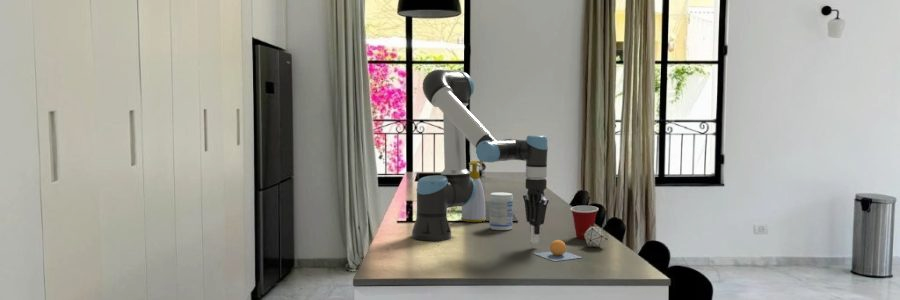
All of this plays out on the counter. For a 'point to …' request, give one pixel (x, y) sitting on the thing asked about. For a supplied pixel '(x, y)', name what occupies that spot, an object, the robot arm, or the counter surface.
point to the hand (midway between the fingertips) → (534, 242)
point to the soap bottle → (475, 199)
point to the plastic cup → (583, 219)
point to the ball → (557, 247)
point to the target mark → (557, 258)
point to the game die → (594, 236)
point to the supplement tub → (501, 211)
